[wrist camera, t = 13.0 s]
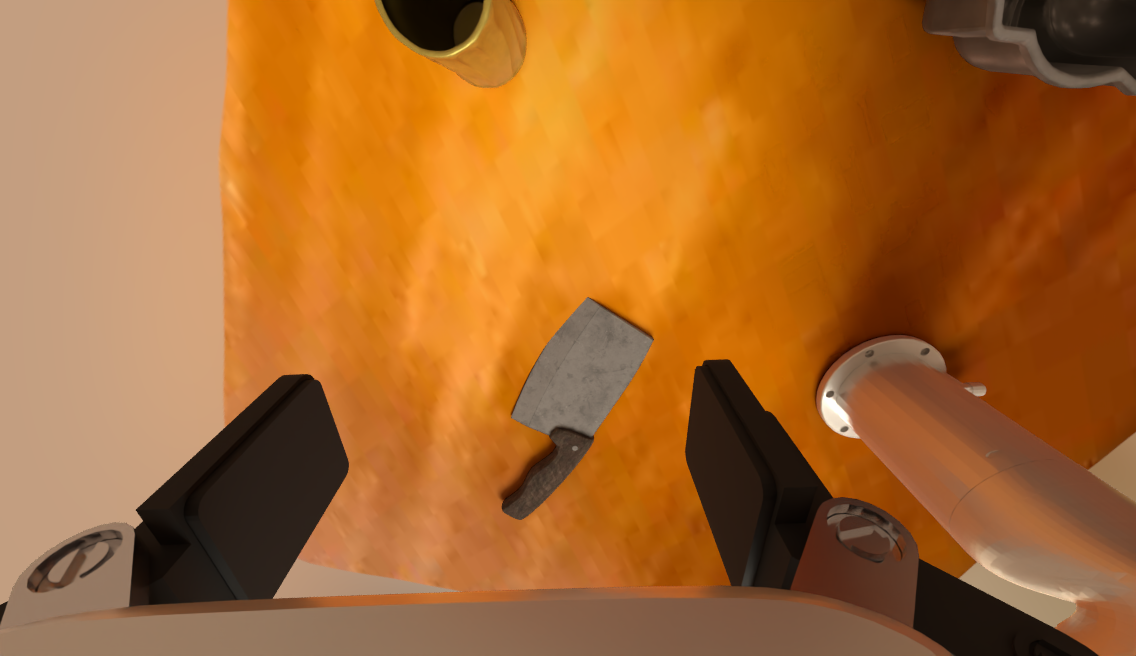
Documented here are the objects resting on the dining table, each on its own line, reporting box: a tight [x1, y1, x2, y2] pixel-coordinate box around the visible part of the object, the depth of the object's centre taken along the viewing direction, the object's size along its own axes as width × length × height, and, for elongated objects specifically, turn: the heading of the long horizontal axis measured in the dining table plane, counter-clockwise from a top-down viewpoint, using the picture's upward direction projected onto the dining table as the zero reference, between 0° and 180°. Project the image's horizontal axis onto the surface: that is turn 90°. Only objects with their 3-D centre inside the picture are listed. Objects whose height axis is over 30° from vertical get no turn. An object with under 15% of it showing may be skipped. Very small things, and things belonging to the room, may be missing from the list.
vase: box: [375, 0, 526, 88], centre depth 24 cm, size 6×6×14 cm
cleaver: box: [502, 297, 654, 520], centre depth 46 cm, size 30×10×2 cm, turn 154°
